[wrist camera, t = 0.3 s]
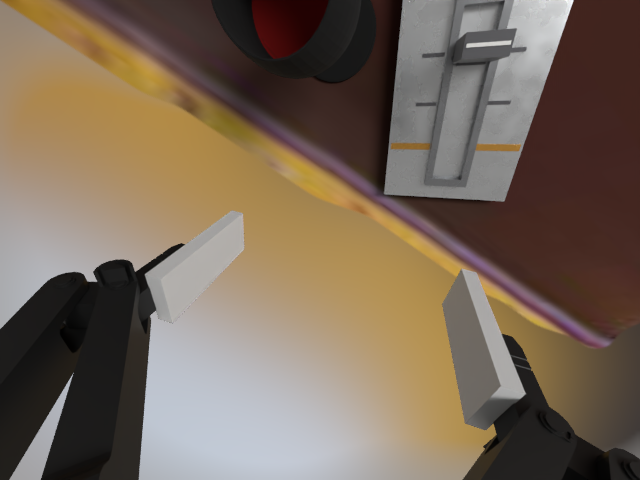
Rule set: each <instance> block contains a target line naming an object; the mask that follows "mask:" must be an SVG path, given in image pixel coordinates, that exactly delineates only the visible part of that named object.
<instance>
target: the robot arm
mask: <svg viewBox="0 0 640 480" xmlns="http://www.w3.org/2000/svg"><path fill="white" fill-rule="evenodd" d="M243 250H244V230H243V213H240V212H236V211H231V212H229V213H228V214H226V215H225V216H224V217H222V218H221V219H220V220H218V221H217V222H215V223H214V224H213V225H212V226H210V227H209V228H208V229H206V230H205V231H203V232H202V233H201V234H199V235H198V236H196V237H195V238H194V239H192V240H191V241H190V242H188V243H187V244H182V243H181V244H178V245H175V246H173V247H171V248H169V249H168V250H166V251H165V252H164V253H163V254H161V255H159V256H158V257H156V259H153V260H152V261H151V262H149V263H148V264H146V265H145V266H143V267H142V268H141V269H139V270H138V271H136V272H135V271H134V268H133V265H132V263H131V262H130V261H128V260H113V261H108V262H106V263H104V264H101V265H100V266H99V267H97V268H96V269H95V271H94V272H93V273H94V275H95V277H96V279H97V282H87V280H86V278H85V276H84V275H83V274H82V273H78V272H71V273H65V274H61V275H58V276H56V277H54V278H51V279H50V280H49V281H47V282H46V283H45V284H44V285H43V286H42V287H41V288H40V289H39V290H38V291H37V292H36V293H35V294H34V295H33V296H32V297H31V298H30V299H29V300H28V301H27V302H26V303H25V304H24V305H23V306H22V307H21V308H20V310H19V311H18V312H17V313H16V314H15V315H14V316H13V317H12V318H11V319H10V320H9V321H8V322H7V323H6V324H5V325H4V326H3V327H2V328H1V329H0V480H9V479H10V477H11V476H12V474H13V472H14V471H15V469H16V467H17V466H18V464H19V462H20V461H21V459H22V457H23V456H24V454H25V452H26V451H27V449H28V447H29V446H30V444H31V442H32V441H33V439H34V437H35V436H36V434H37V432H38V431H39V429H40V427H41V426H42V424H43V422H44V421H45V419H46V417H47V416H48V414H49V412H50V411H51V409H52V408H53V406H54V404H55V403H56V401H57V399H58V398H59V396H60V394H61V393H62V391H63V389H64V387H65V386H66V384H67V382H68V381H69V379H70V378H71V376H72V374H73V373H74V374H73V377H72V380H71V383H70V387H69V390H68V393H67V396H66V400H65V403H64V406H63V409H62V414H61V416H60V420H59V423H58V426H57V429H56V433H55V436H54V439H53V442H52V445H51V449H50V452H49V455H48V458H47V462H46V465H45V468H44V471H43V475H42V478H41V480H138V479H139V466H140V454H141V441H142V429H143V416H144V403H145V390H146V378H147V365H148V353H149V352H148V351H149V340H150V327H151V318H150V315H151V314H152V313H153V312H155V311H156V312H157V315H158V319H161V320H164V321H167V322H169V323H174V322H175V321H176V320H177V319H178V318H179V316H180V315H181V314H182V313H183V312H184V311H185V310H186V309H187V308H188V307H189V306H190V305H191V304H192V303H193V302H194V301H195V300H196V299H197V298H198V297H199V296H200V295H201V294H202V293H203V292H204V290H205V289H206V288H207V287H208V286H209V285H210V284H211V283H212V282H213V281H214V280H215V279H216V278H217V277H218V276H219V275H220V274H221V273H222V272H223V271H224V270H225V269H226V268H227V267H228V265H230V263H231V262H232V261H233V260H234V259H235V258H236V257H237V256H238V255H239V254H240V253H241V252H242V251H243ZM442 305H443V311H444V316H445V321H446V326H447V332H448V337H449V342H450V347H451V353H452V358H453V363H454V368H455V373H456V379H457V384H458V389H459V394H460V400H461V405H462V410H463V415H464V420H465V423H466V424H469V425H471V426H474V427H477V428H480V429H483V430H487V429H488V428H489V427H490V426H491V425H492V424H493V423H494V426H495V430H496V433H497V435H496V436H495V437H494V438H493V439H492V440H490V441H489V442H488V443H487V444H486V445H484V446H483V447H484V448H485V450H484V451H483V453H482V454H481V455H480V457H479V458H478V459H477V461H476V462H475V464H474V465H473V466H472V468H471V469H470V470H469V472H468V473H467V475H466V476H465V477H464V479H463V480H640V459H639V458H637V457H636V456H635V455H633V454H631V453H629V452H627V451H625V450H623V449H618V448H613V449H611V450H609V451H607V452H604V451H602V450H600V449H599V448H597V447H595V446H593V445H592V444H590V443H588V442H587V441H585V440H583V439H582V438H580V437H578V436H577V435H575V433H574V430H573V429H572V428H571V427H570V425H569V423H568V422H567V421H566V420H565V419H564V418H563V417H562V416H561V415H560V414H559V413H557V412H556V411H554V410H553V409H551V408H550V407H549V406H548V403H547V402H546V399H545V397H544V395H543V393H542V391H541V389H540V386H539V384H538V382H537V380H536V378H535V375H534V373H533V371H531V367H530V365H529V363H528V362H527V358H526V356H525V354H524V352H523V350H522V348H521V347H520V345H519V344H518V343H517V342H516V341H515V340H514V338H513V337H511V336H508V335H504V334H501V332H500V329H499V327H498V324H497V322H496V320H495V317H494V315H493V312H492V310H491V307H490V305H489V302H488V300H487V298H486V295H485V293H484V290H483V288H482V285H481V283H480V280H479V278H478V275H477V273H476V272H472V271H468V270H464V269H461V271H460V273H459V274H458V276H457V278H456V280H455V282H454V284H453V285H452V287H451V289H450V291H449V293H448V294H447V296H446V298H445V300H444V302H443V304H442Z"/></svg>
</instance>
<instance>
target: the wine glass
mask: <svg viewBox="0 0 640 480" xmlns="http://www.w3.org/2000/svg"><path fill="white" fill-rule="evenodd" d="M211 2H212V6H213V8H214V11H215V13H216V16H217V18H218V20H219V22H220V24H221V26H222V28H223V29H224V31H225V32H226V34H227V35H228V36H229V38H230V39H231V40H232V41H233V43H234V44H235V45H236V46H237V47H238V48H239V49H240V50H241V51H242V52H243V53H244V54H245V55H246V56H247V57H248V58H250V59H251V60H252V61H253V62H255V63H256V64H257V65H258V66H260V67H262V68H264V69H265V70H267V71H269V72H271V73H273V74H276V75H279V76H282V77H286V78H293V79H299V78H307V77H312V76H315V77H317V78H319V79H321V80H324V81H328V82H340V81H344V80H346V79H348V78H350V77H352V76H353V75H355V74H356V73H357V72H358V71H359V70H360V69H361V68H362V67H363V66H364V64H365V63H366V61H367V60H368V58H369V56H370V54H371V52H372V49H373V45H374V42H375V36H376V18H375V13H374V9H373V6H372V3H371V1H370V0H211Z"/></svg>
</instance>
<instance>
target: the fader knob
mask: <svg viewBox="0 0 640 480" xmlns="http://www.w3.org/2000/svg"><path fill="white" fill-rule="evenodd" d="M516 31H517V28H513V29H501V30H489V31H477V32H466V33H465V34H464V35H463V36H462V37H461V38H460V39H458V40H457V41H456V47H455V52H454V57H453V63H452V64H456V63H457V64H456V66H471V65H484V64H486V62H491V61H496V60H499V59H502V58H505V57H509V56H510V53H511V49H512V45H513V42H514V38H515V34H516Z"/></svg>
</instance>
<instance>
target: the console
mask: <svg viewBox="0 0 640 480" xmlns="http://www.w3.org/2000/svg"><path fill="white" fill-rule="evenodd" d="M572 3H573V0H403V4H402V15H401V25H400V35H399V46H398V56H397V67H396V77H395V87H394V98H393V108H392V118H391V129H390V139H389V149H388V160H387V170H386V180H385V191H384V194H387V195H404V196H421V197H438V198H455V199H472V200H489V201H504V200H505V198H506V195H507V192H508V189H509V186H510V183H511V180H512V177H513V174H514V171H515V168H516V166H517V163H518V160H519V157H520V154H521V151H522V148H523V145H524V142H525V139H526V137H527V134H528V131H529V128H530V125H531V122H532V119H533V116H534V113H535V110H536V107H537V105H538V102H539V99H540V96H541V93H542V90H543V87H544V84H545V81H546V78H547V76H548V73H549V70H550V67H551V64H552V61H553V58H554V55H555V52H556V49H557V46H558V44H559V41H560V38H561V35H562V32H563V29H564V26H565V23H566V20H567V17H568V15H569V12H570V9H571V6H572ZM513 28H517V31H516V34H515V38H514V42H513V45H512V49H511V53H510V56H509V57H505V58H502V59H499V60H496V61H491V62H486V64H484V65H471V66H456V64H457V63H456V64H452V63H453V57H454V52H455V47H456V41H457V40H458V39H460V38H461V37H462V36H463V35H464V34H465V33H466V32H477V31H489V30H501V29H513Z"/></svg>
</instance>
